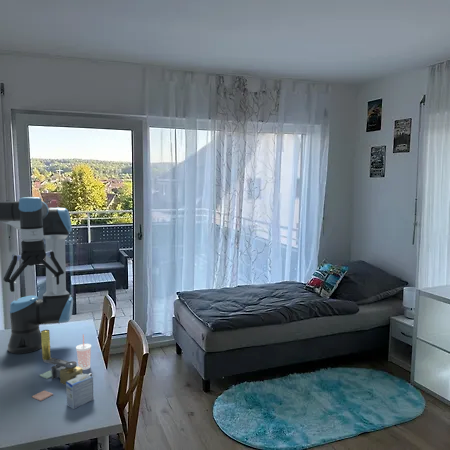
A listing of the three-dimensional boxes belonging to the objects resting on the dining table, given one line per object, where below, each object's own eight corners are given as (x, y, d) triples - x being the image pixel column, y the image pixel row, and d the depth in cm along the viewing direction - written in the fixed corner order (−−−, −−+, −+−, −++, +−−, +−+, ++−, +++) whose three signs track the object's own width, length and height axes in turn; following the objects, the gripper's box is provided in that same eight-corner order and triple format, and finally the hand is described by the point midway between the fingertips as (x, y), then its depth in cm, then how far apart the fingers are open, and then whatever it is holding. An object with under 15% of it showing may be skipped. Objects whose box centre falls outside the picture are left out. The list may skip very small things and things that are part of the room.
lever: (78, 365, 160) (77, 334, 159) (71, 369, 157) (69, 338, 155) (47, 358, 167) (46, 328, 165) (39, 362, 163) (38, 332, 162)
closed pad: (31, 397, 148) (31, 396, 148) (44, 391, 153) (44, 390, 153) (40, 401, 146) (40, 400, 146) (53, 394, 150) (53, 393, 150)
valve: (50, 378, 162) (49, 364, 162) (62, 373, 167) (62, 359, 166) (81, 391, 153) (80, 375, 152) (93, 384, 158) (93, 370, 157)
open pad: (39, 375, 165) (39, 374, 165) (50, 371, 169) (50, 370, 169) (47, 379, 162) (47, 378, 162) (58, 374, 166) (58, 373, 166)
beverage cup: (81, 372, 168) (80, 338, 167) (73, 367, 172) (72, 334, 171) (95, 366, 173) (93, 334, 171) (87, 362, 177) (85, 330, 175)
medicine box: (86, 396, 149) (86, 372, 148) (94, 400, 147) (93, 376, 146) (66, 405, 143) (65, 381, 142) (73, 409, 140) (72, 385, 140)
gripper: (-5, 244, 141) (-1, 305, 144) (70, 237, 156) (73, 292, 159) (-8, 241, 147) (-4, 300, 150) (64, 235, 162) (67, 288, 164)
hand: (35, 296), depth 154 cm, fingers open, 13 cm apart
